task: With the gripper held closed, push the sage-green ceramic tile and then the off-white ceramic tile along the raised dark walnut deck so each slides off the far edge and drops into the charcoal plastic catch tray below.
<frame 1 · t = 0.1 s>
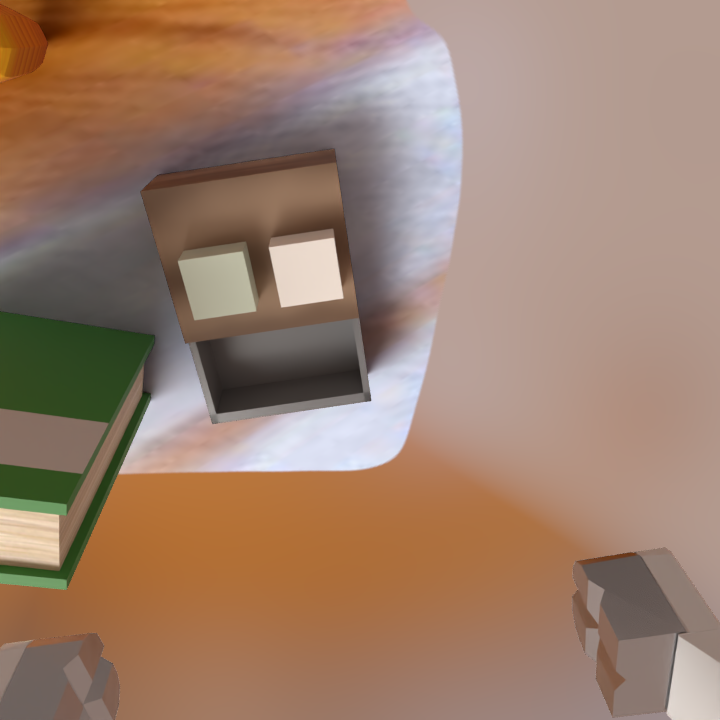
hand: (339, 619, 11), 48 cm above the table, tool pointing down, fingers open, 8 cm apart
carrot: (40, 40, 48), on the table
sage tile: (222, 275, 52), point 6 cm above the table, touching deck
white tile: (307, 262, 51), point 6 cm above the table, touching deck
hardback book: (58, 354, 61), on the table
deck: (261, 236, 56), on the table
tray: (285, 345, 61), on the table
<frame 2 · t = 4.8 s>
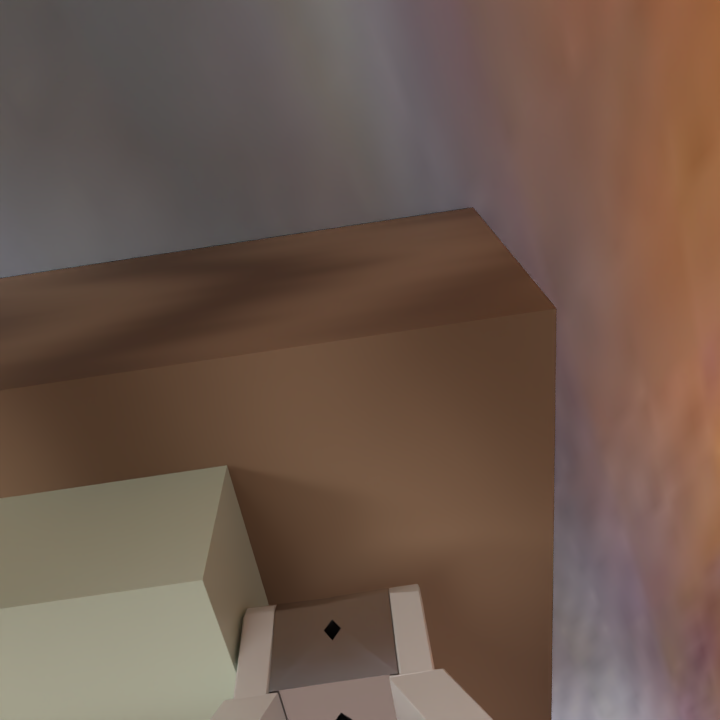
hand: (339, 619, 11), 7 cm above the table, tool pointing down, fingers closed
sage tile: (127, 589, 12), point 6 cm above the table, touching deck, gripper
deck: (266, 491, 19), on the table
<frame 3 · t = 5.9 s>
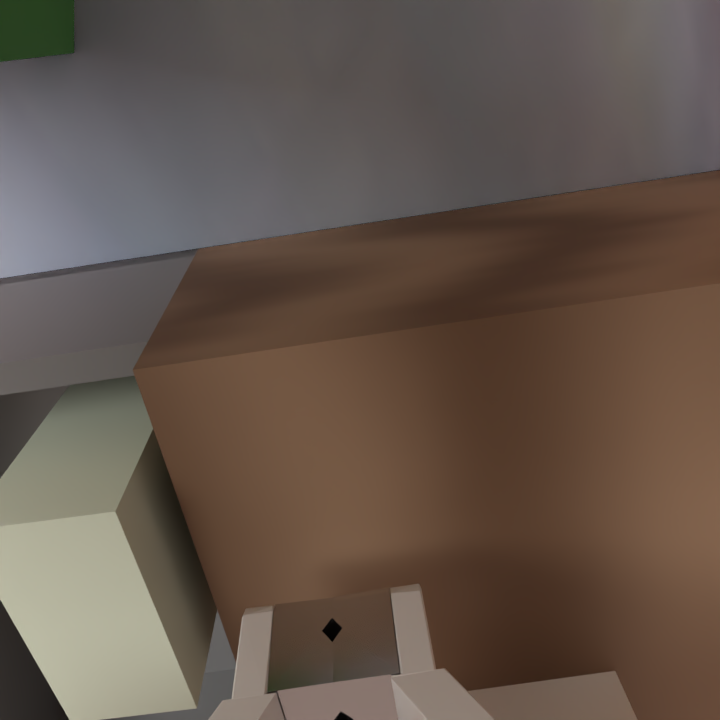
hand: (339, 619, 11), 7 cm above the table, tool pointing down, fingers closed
sage tile: (189, 521, 13), point 4 cm above the table, tilted 91°
deck: (483, 460, 19), on the table
tray: (113, 513, 19), on the table
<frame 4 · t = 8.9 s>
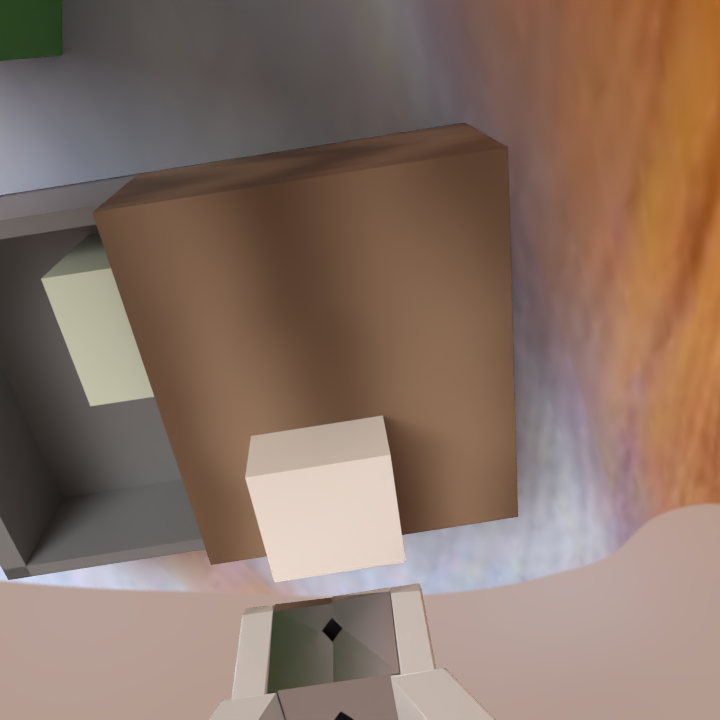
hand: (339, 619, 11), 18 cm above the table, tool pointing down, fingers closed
sage tile: (153, 307, 24), point 3 cm above the table, tilted 90°, touching tray
white tile: (327, 478, 25), point 6 cm above the table, touching deck
deck: (331, 320, 28), on the table
tray: (88, 359, 28), on the table
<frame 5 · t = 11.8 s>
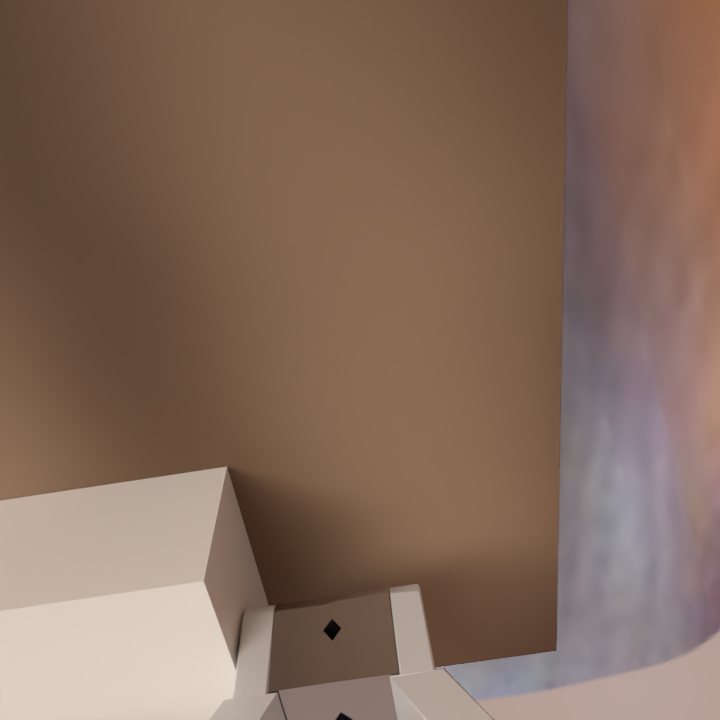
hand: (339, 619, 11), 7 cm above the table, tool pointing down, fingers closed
white tile: (127, 590, 12), point 6 cm above the table, touching gripper
deck: (211, 267, 15), on the table
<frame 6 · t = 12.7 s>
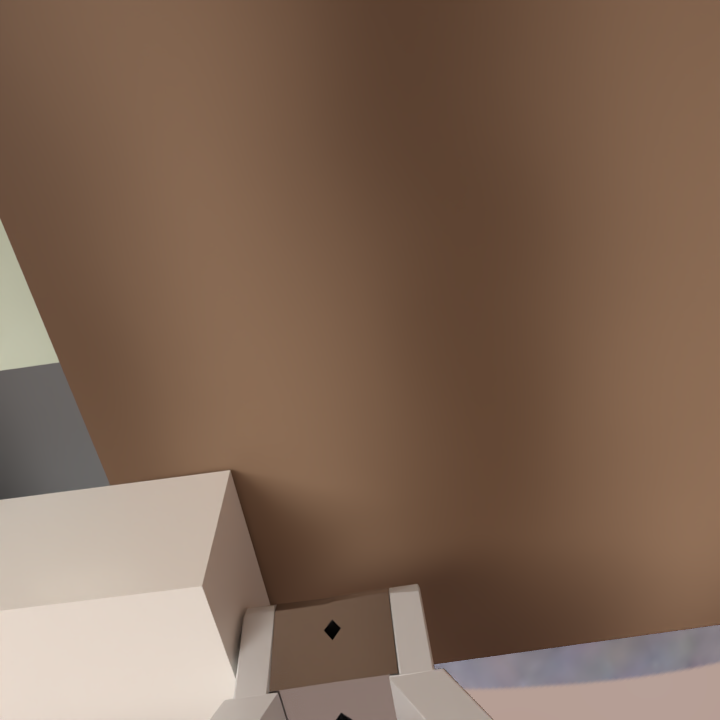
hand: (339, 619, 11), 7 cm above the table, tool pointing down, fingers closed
sage tile: (72, 171, 11), point 3 cm above the table, tilted 90°, touching tray
white tile: (131, 590, 12), point 6 cm above the table, touching deck, gripper
deck: (427, 232, 15), on the table
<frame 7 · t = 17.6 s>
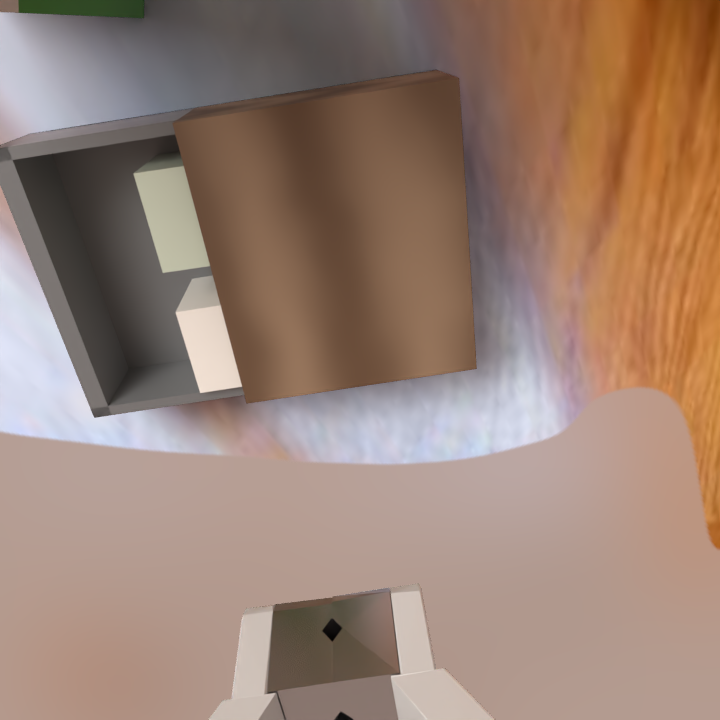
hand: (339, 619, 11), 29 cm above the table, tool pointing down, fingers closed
sage tile: (206, 204, 33), point 3 cm above the table, tilted 90°, touching tray
white tile: (238, 327, 37), point 3 cm above the table, tilted 90°, touching tray
deck: (337, 225, 37), on the table
tray: (153, 254, 37), on the table
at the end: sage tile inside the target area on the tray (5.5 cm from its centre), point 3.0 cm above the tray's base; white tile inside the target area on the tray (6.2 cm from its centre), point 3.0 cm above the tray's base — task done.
